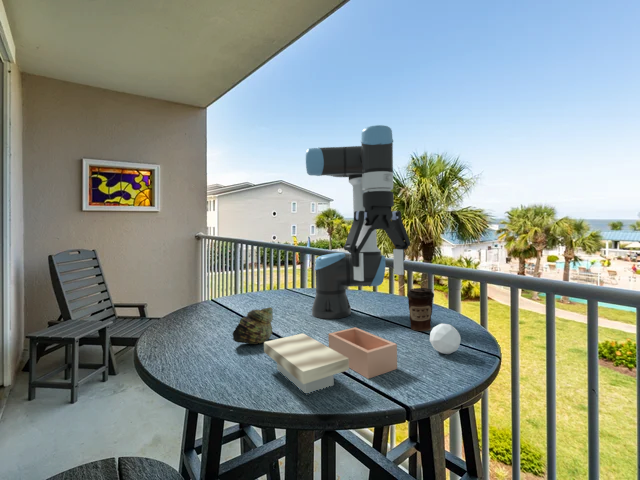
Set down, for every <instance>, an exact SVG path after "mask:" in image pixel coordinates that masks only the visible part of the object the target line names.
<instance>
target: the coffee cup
mask: <svg viewBox="0 0 640 480" xmlns="http://www.w3.org/2000/svg"><path fill="white" fill-rule="evenodd" d="M434 298H435V293H434V292H433V290H432V288H428V287H415V288H410V289H409V291H408V292H407V300H408V301H407V302H408V310H409V321H410V329H411V330H414V331H420V332H426V331H432V323H431V322H432V314H433V302H434V301H433V300H434Z"/></svg>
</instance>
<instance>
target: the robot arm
mask: <svg viewBox="0 0 640 480" xmlns="http://www.w3.org/2000/svg"><path fill="white" fill-rule="evenodd" d="M360 138H361V140H360V143H361V145H355V146H354V145H353V146H350V145H349V146H333V147H331V146H330V147H329V146H327V147H311V148H307V150H306V151H305V168H306V169H305V170H306V173H307V175H309V176H317V177H320V176H321V177H322V176H328V177H333V178H348V183H349V184H350V185H352V186H351V187H352V201H353V203H352V205H353V207H352V208H353V209H352V210H353V221H352V224H351V227H350V230H349V232H348V235H347V238H346V239H345V240H346V241H345V242H344V243H345V244H344V246H343V250H344V251H347V252H348V253H350V255H349V256H346V253H345V252H335V253H328V254H324V255H323V254H322V255H319V256H317V257H316V258H315V263H314V265H315V266H314V271H315V297H314V300H313V304H312V307H311V315H312V316H313V317H315V318H319V319H329V320H331V319H332V320H333V319H335V320H336V319H341V318H342V319H343V318H346V317H349V316H350V315H351V314H352V308H351V305H350V301H349V298H348V295H347V287H348V288H349V287H370V288H371V287H377V286H378V287H379V286H381V285H383V282H384V279H385V273H386V256H385V255H383V254H382V251H381V250H380V248H378V246H377V245H378V243H377V241H378V240H377V239H378V238H377V230H383V231H384V232H385V233H386V235H387V237H388V238H389V240H390V241H391V242H392V244H393V246H394V247H395V248H393V253H392V255H393V256H392V257H393V275H399V276H404V275H405V274H404V268H405V267H404V262H405V250H408V248H409V247H410V246H411V241H410V239H409V236H408V233H407V231H406V228H405V225H404V221H403V219H402V211H401V210H393V211H392V207H394V205H395V203H394V202H395V197H394V194H395V193H394V192H393V191H392V190H393V189H394V161H393V160H394V159H393V158H394V156H393V154H394V151H393V149H394V144H393V143H394V139H393V130H392V128H391V127H390V126H388V125H383V124H380V125H379V124H377V125H370V126H367V127H365V128H363V129H362V131H361V137H360Z"/></svg>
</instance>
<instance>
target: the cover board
mask: <svg viewBox="0 0 640 480" xmlns="http://www.w3.org/2000/svg"><path fill="white" fill-rule="evenodd" d="M263 352H264V353H265V354H266V355H267V356H268V357H269V358H271V359H272V360H273V361H274V362H276V364H277V363H278V364H279V365H281V366H282V367H283V368H284V369H286V370H287V371H288V372H289V373H290V374H292V375H293V376H294V377H295V378H297V379H298V380H299V381H300V382H301V383H303V384H306V383H309V382H312V381H315V380H319V379H322V378H325V377H328V376H331V375H333V376H334V375H338V374H340V373H344V372H346V371H350V368H349V358H347V357H345V356H343V355H342V354H340V353H338V352H336V351H334V350H333V349H331V348H329V346H327V345H325V344H324V343H322V342H320V341H318V340H316V339H314V338H312V337H311V336H309V335H307V334H305V333H304V332H302V333H298V334H295V335H294V334H293V335H290V336H285V337H280V338H276V339H275V338H274V339H272V340H266V341H265V342H263Z"/></svg>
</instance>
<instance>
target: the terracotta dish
mask: <svg viewBox="0 0 640 480" xmlns="http://www.w3.org/2000/svg"><path fill="white" fill-rule="evenodd" d="M328 347H329V348H331V349H333V350H334V351H336V352H338V353H340V354H342V355H343V356H345V357H347V358H349V370H350V369H351V370H352V371H353V372H356V373H357V374H359V375H361V376H363V378H364V377H365V378H366V379H368V380H369V379H371V378H375V377H377V376H381V375H383V374H386V373H389V372H392V371H395V370H397V369H398V344H397V343H395V342H393V341H391V340H388V339H385V338H383V337H381V336H379V335H376V334H373V333H371V332H368V331H365V330H363V329H360V328H358V327H351V328H347V329H343V330H339V331H333V332H330V333H328Z"/></svg>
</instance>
